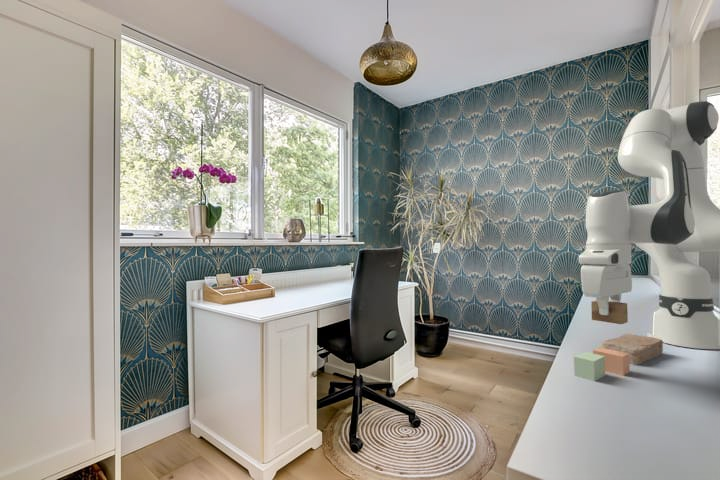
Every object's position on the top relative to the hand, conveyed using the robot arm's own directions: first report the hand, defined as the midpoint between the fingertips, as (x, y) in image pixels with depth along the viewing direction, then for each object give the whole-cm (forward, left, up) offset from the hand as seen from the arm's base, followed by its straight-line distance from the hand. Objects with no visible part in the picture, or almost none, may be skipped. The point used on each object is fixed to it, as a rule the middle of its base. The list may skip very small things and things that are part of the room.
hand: (609, 313), depth 80 cm
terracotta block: (0, 0, -14) cm, 14 cm away
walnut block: (0, 0, -2) cm, 2 cm away
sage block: (+8, -1, -14) cm, 16 cm away
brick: (-17, -1, -14) cm, 22 cm away
